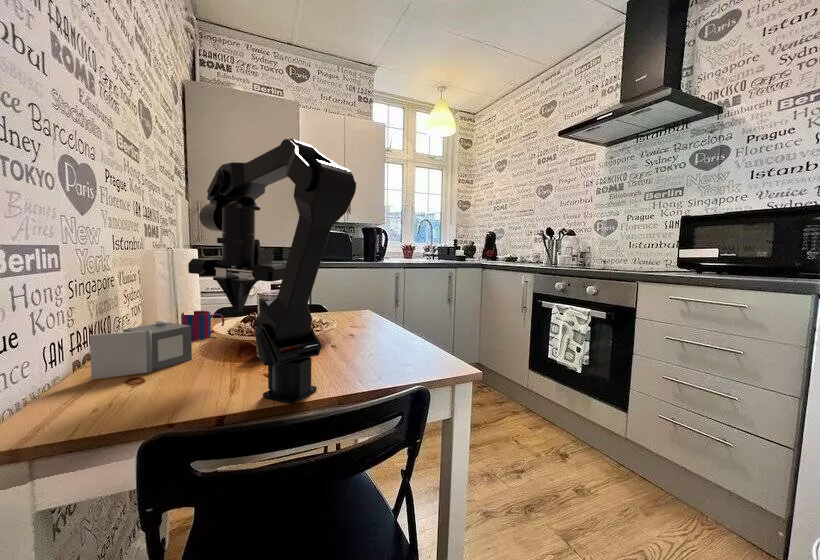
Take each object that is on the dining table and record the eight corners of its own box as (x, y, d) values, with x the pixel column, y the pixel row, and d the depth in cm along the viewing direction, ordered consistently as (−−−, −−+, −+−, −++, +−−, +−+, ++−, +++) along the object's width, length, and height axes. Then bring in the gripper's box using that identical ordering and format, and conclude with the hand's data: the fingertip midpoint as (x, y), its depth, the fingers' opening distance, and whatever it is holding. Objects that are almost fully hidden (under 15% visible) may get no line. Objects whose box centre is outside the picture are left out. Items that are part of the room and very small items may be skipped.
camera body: (192, 359, 74) (191, 322, 74) (147, 373, 66) (146, 330, 65) (166, 354, 77) (165, 318, 76) (120, 366, 68) (119, 326, 68)
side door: (153, 370, 66) (151, 329, 66) (152, 372, 65) (151, 331, 65) (93, 377, 62) (91, 334, 61) (91, 379, 61) (89, 335, 60)
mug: (186, 335, 95) (185, 310, 94) (226, 333, 98) (226, 310, 97) (178, 341, 88) (177, 315, 88) (221, 339, 92) (221, 314, 91)
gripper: (303, 237, 72) (302, 309, 74) (228, 231, 76) (228, 300, 78) (271, 236, 61) (270, 320, 63) (185, 230, 65) (186, 309, 67)
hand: (238, 311), depth 68 cm, fingers closed
